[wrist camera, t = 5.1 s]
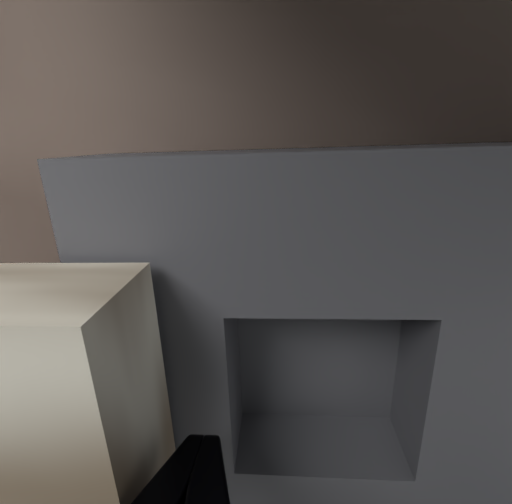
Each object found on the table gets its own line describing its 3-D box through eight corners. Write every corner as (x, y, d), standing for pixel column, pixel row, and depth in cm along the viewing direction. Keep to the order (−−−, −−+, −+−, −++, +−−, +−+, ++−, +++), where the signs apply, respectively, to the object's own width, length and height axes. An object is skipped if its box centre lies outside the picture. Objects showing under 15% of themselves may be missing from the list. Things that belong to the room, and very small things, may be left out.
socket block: (472, 479, 15) (529, 578, 11) (159, 465, 16) (126, 553, 12) (552, 140, 10) (684, 140, 7) (109, 153, 11) (36, 158, 8)
